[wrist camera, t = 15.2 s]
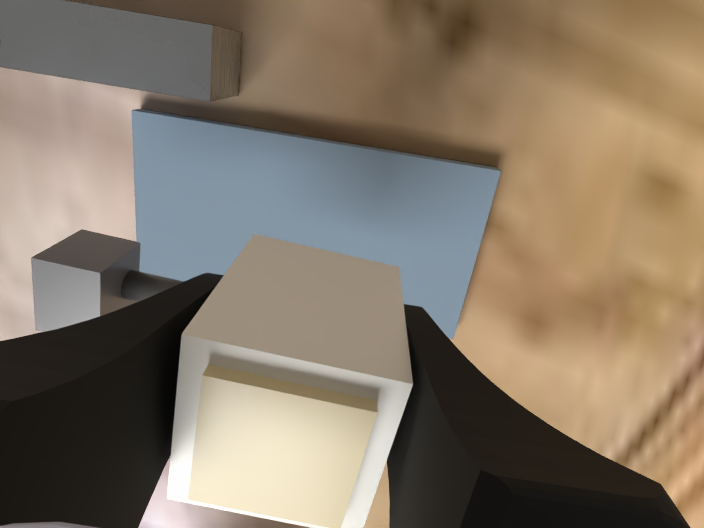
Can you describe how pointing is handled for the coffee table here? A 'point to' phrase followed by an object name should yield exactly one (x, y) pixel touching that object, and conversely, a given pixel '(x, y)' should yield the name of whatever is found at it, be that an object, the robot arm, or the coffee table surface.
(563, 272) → the coffee table surface
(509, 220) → the coffee table surface
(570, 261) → the coffee table surface
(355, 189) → the mat
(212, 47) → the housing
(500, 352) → the coffee table surface
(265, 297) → the wall lamp
